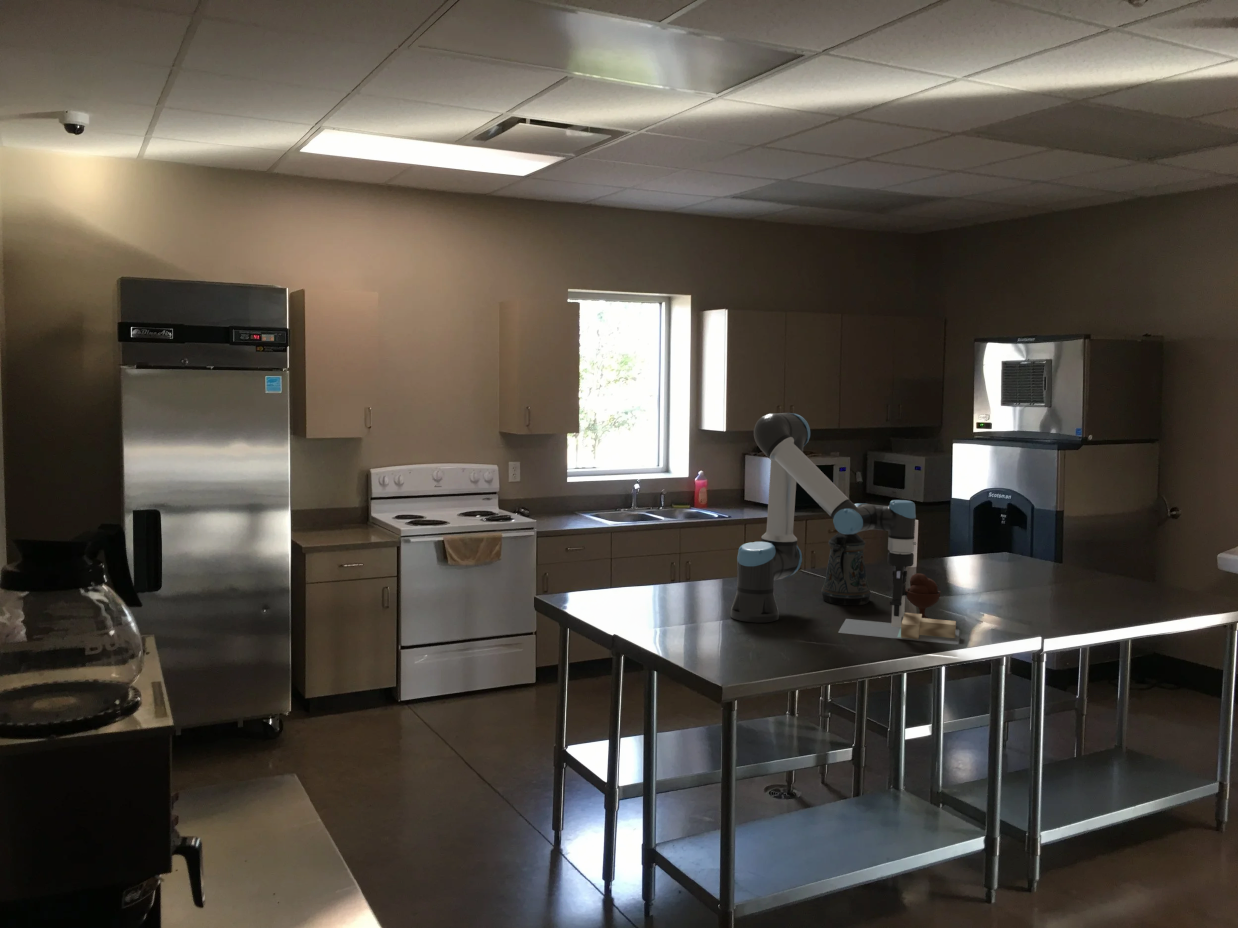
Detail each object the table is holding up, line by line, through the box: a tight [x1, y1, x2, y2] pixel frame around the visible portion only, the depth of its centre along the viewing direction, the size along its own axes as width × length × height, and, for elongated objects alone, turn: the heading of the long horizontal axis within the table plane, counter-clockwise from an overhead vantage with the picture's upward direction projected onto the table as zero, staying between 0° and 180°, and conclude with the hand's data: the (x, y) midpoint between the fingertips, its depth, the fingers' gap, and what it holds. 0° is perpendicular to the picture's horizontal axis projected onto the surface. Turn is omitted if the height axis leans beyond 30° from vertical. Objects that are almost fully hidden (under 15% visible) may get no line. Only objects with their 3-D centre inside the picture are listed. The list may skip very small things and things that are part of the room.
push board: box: [837, 618, 960, 645], centre depth 301 cm, size 34×19×1 cm, turn 70°
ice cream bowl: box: [905, 573, 941, 619], centre depth 316 cm, size 11×11×15 cm
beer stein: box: [820, 531, 871, 606], centre depth 343 cm, size 16×19×25 cm
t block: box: [901, 612, 957, 639], centre depth 298 cm, size 15×16×4 cm
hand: (897, 621), depth 301 cm, fingers open, 13 cm apart
